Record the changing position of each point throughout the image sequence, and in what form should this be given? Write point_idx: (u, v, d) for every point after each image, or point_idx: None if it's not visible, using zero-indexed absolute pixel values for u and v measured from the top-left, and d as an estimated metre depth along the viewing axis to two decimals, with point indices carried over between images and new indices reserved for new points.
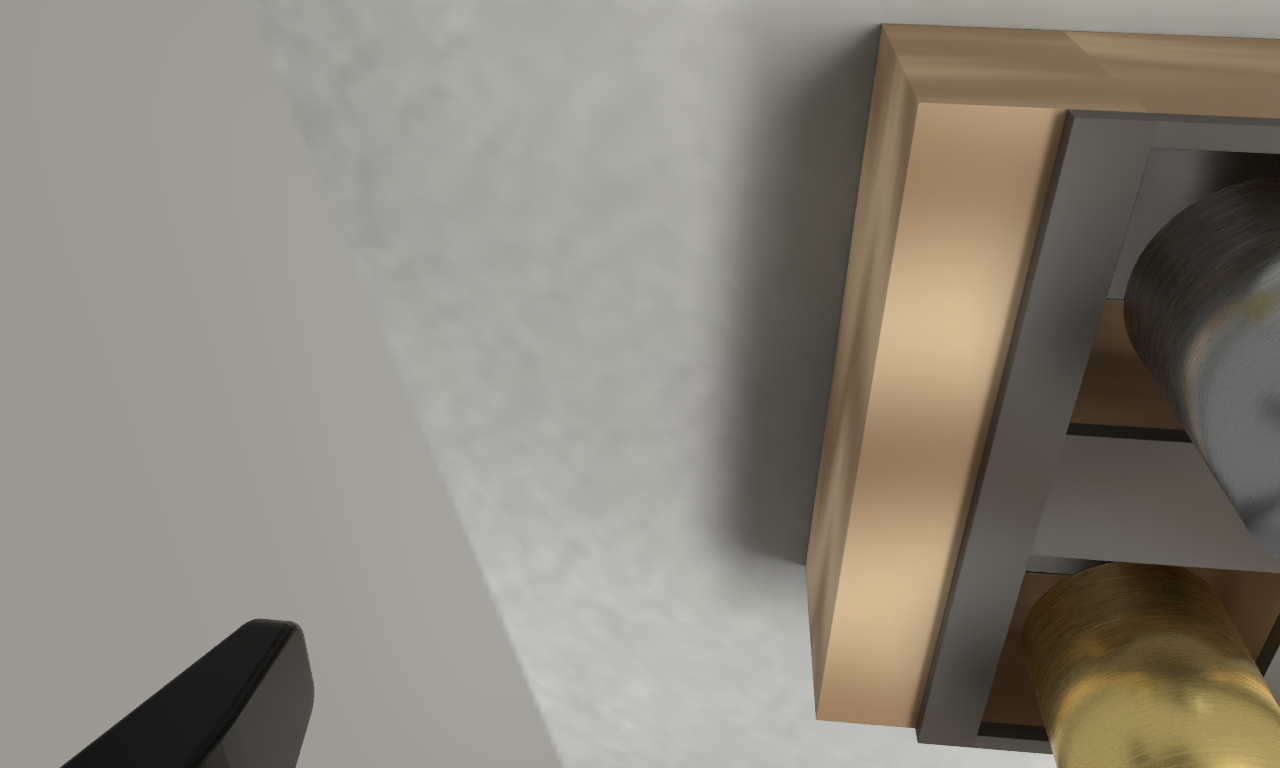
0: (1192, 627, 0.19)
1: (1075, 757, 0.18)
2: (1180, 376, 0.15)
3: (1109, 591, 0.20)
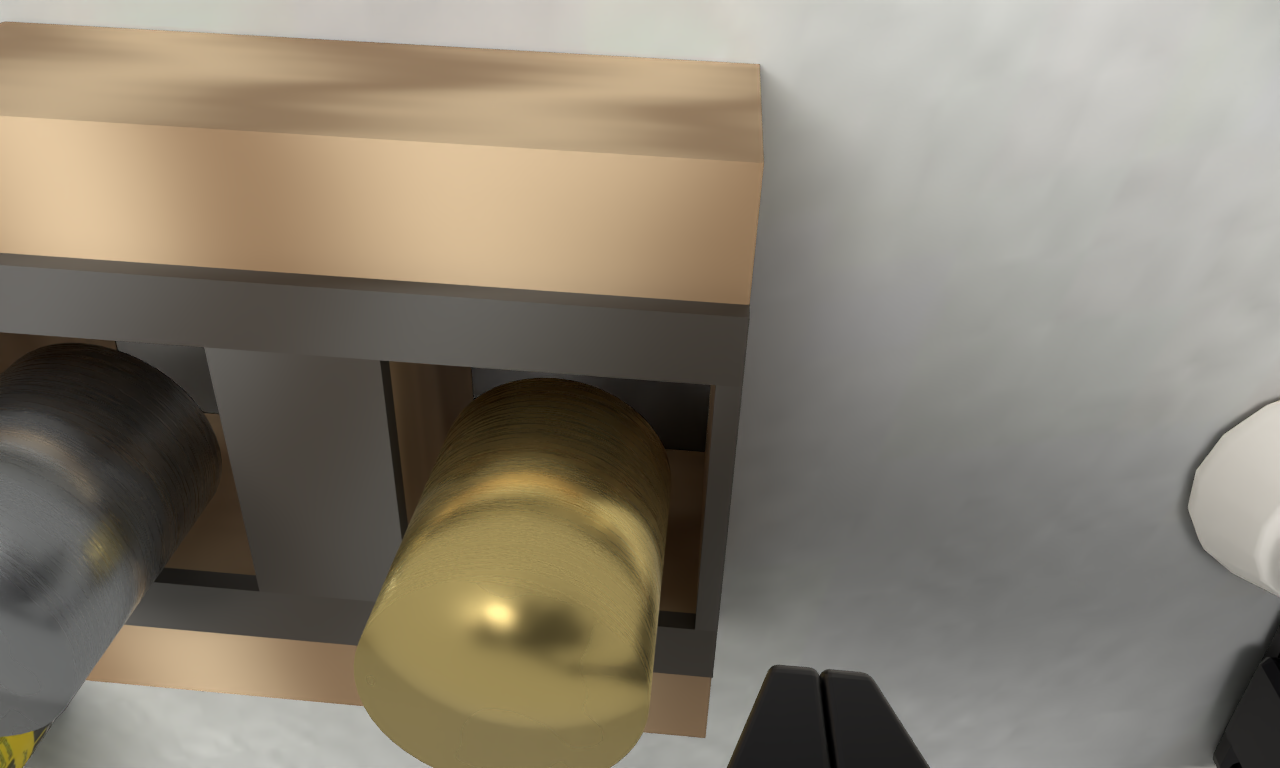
0: None
1: None
2: None
3: None
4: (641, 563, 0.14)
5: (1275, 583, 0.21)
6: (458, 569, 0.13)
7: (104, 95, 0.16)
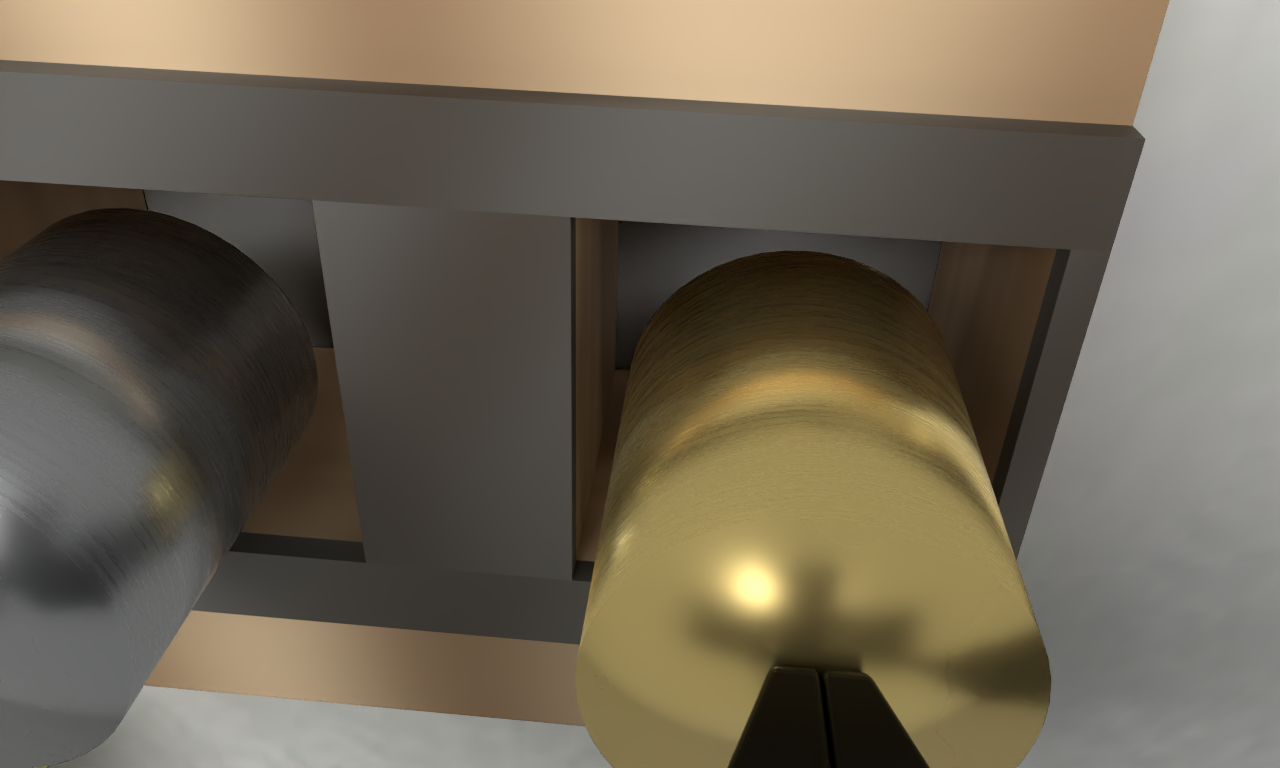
0: (615, 452, 0.11)
1: None
2: None
3: None
4: (996, 502, 0.10)
5: None
6: (768, 502, 0.08)
7: None
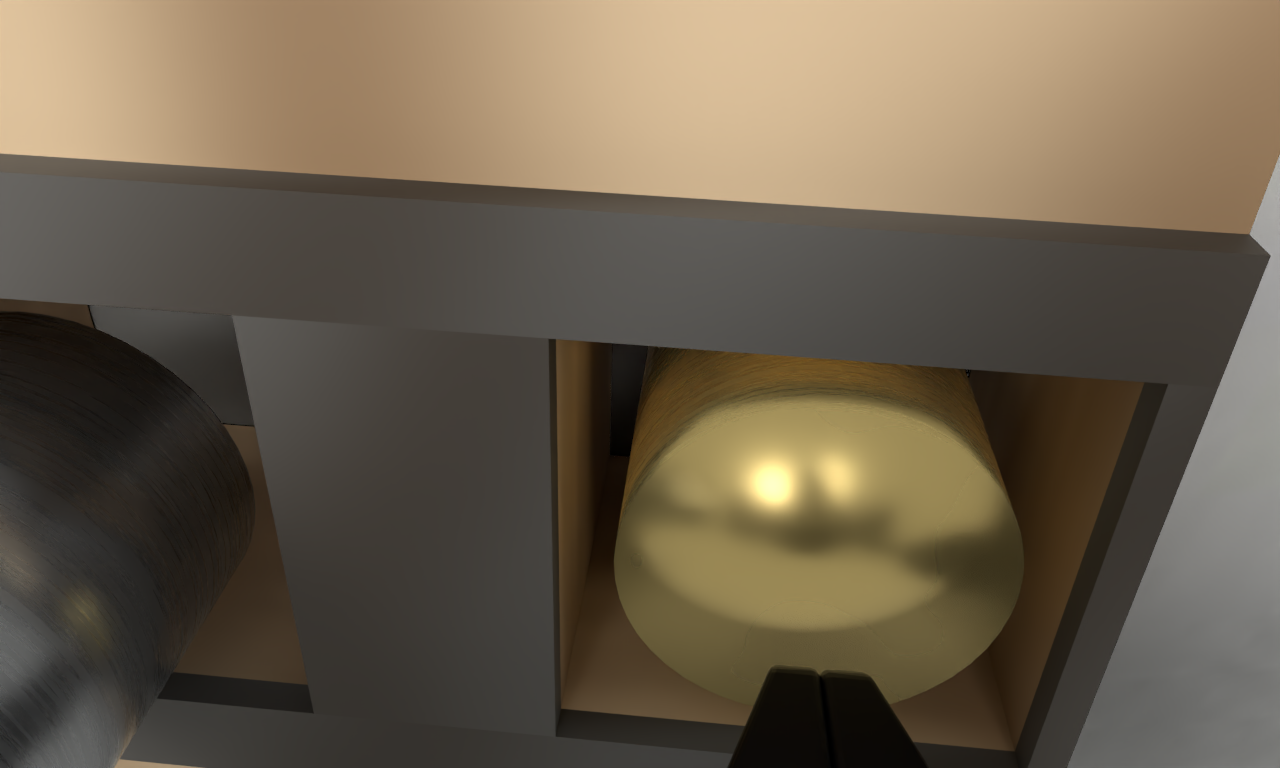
0: (642, 381, 0.13)
1: None
2: None
3: None
4: (979, 414, 0.11)
5: None
6: (781, 396, 0.09)
7: None
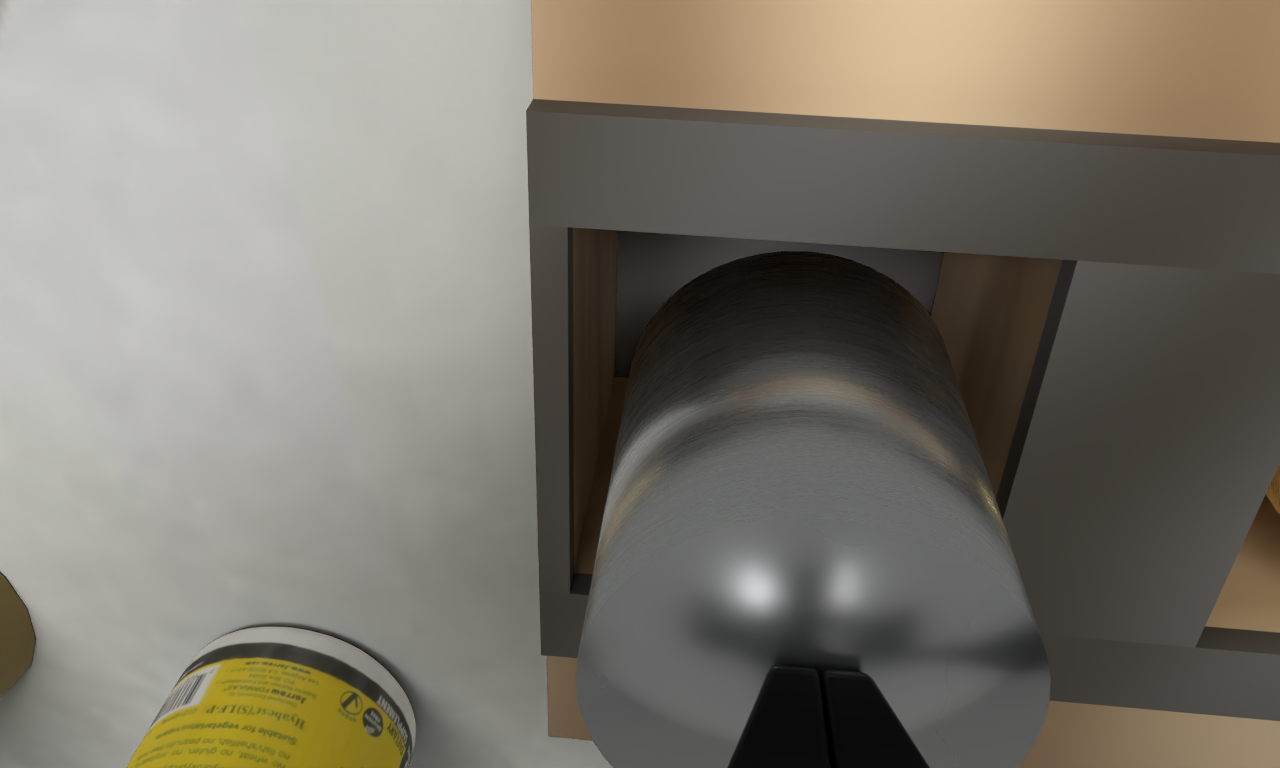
0: None
1: None
2: None
3: None
4: None
5: None
6: None
7: None
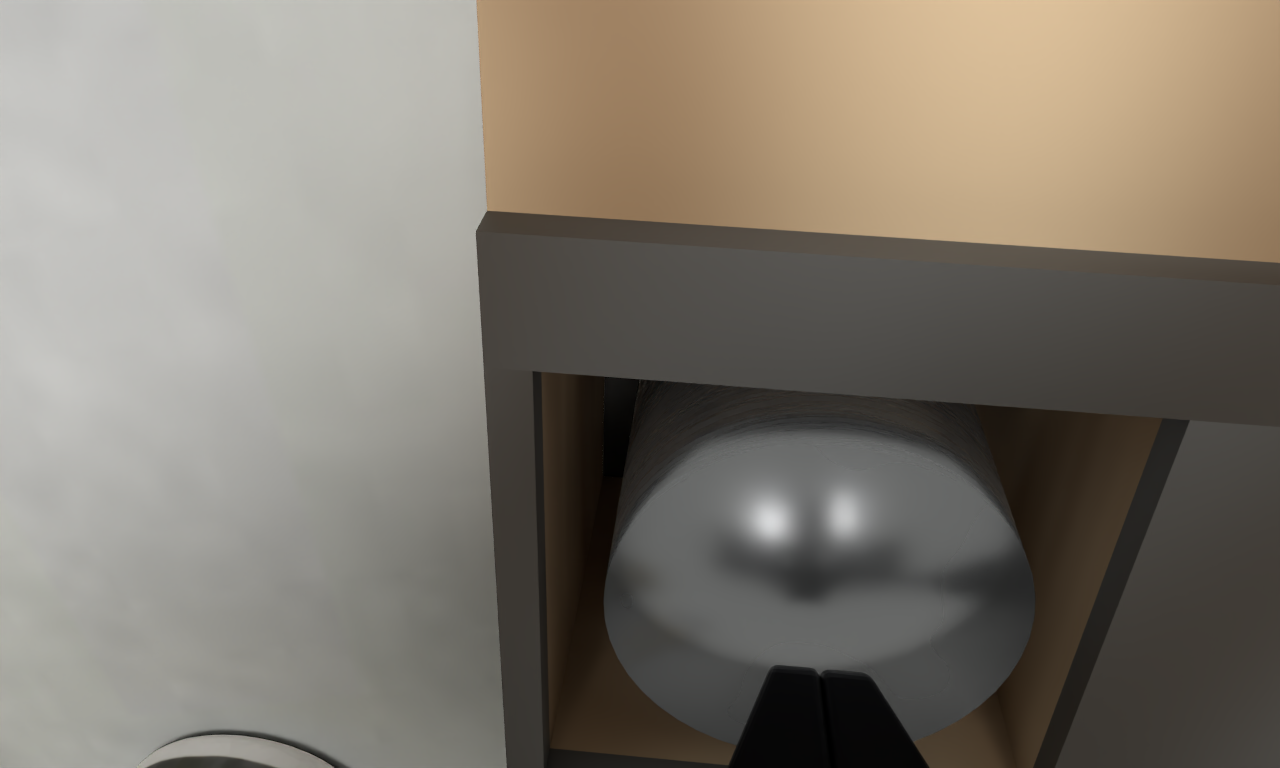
0: None
1: None
2: None
3: None
4: None
5: None
6: None
7: None
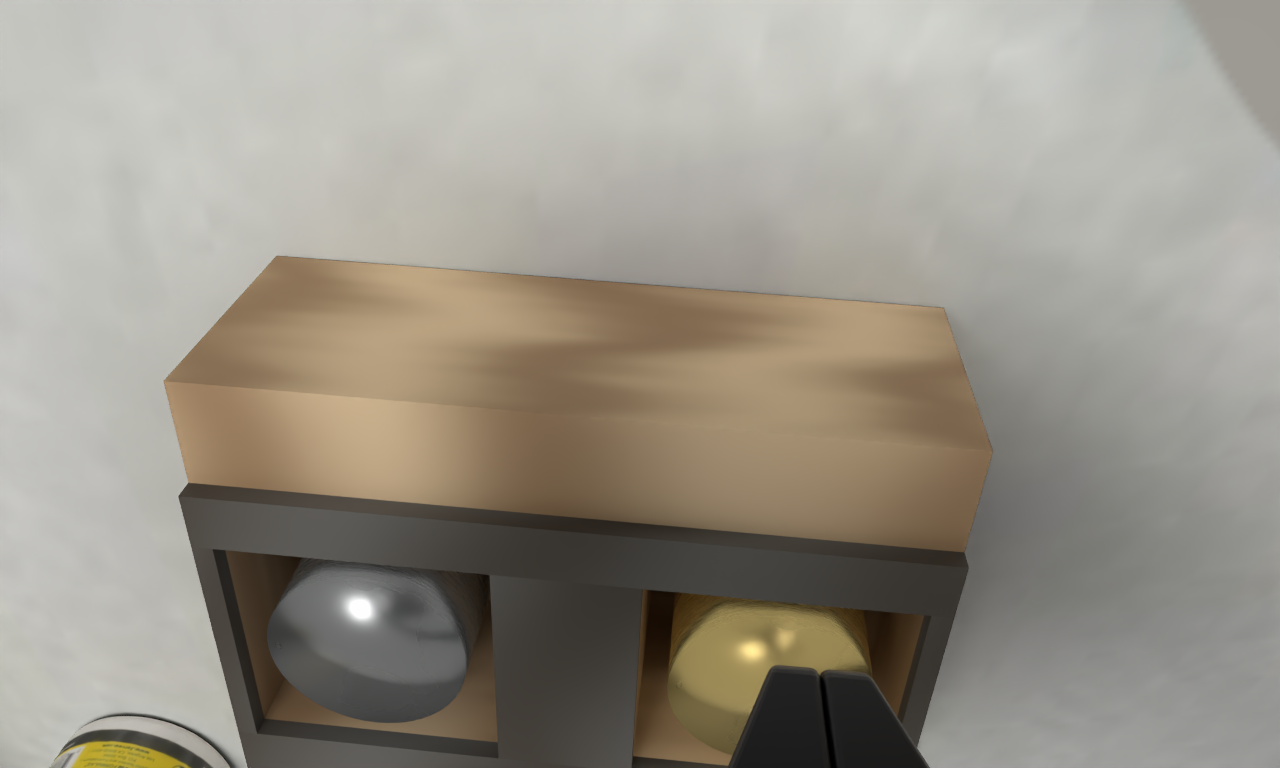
0: None
1: None
2: None
3: None
4: None
5: None
6: (752, 610, 0.19)
7: (412, 365, 0.18)
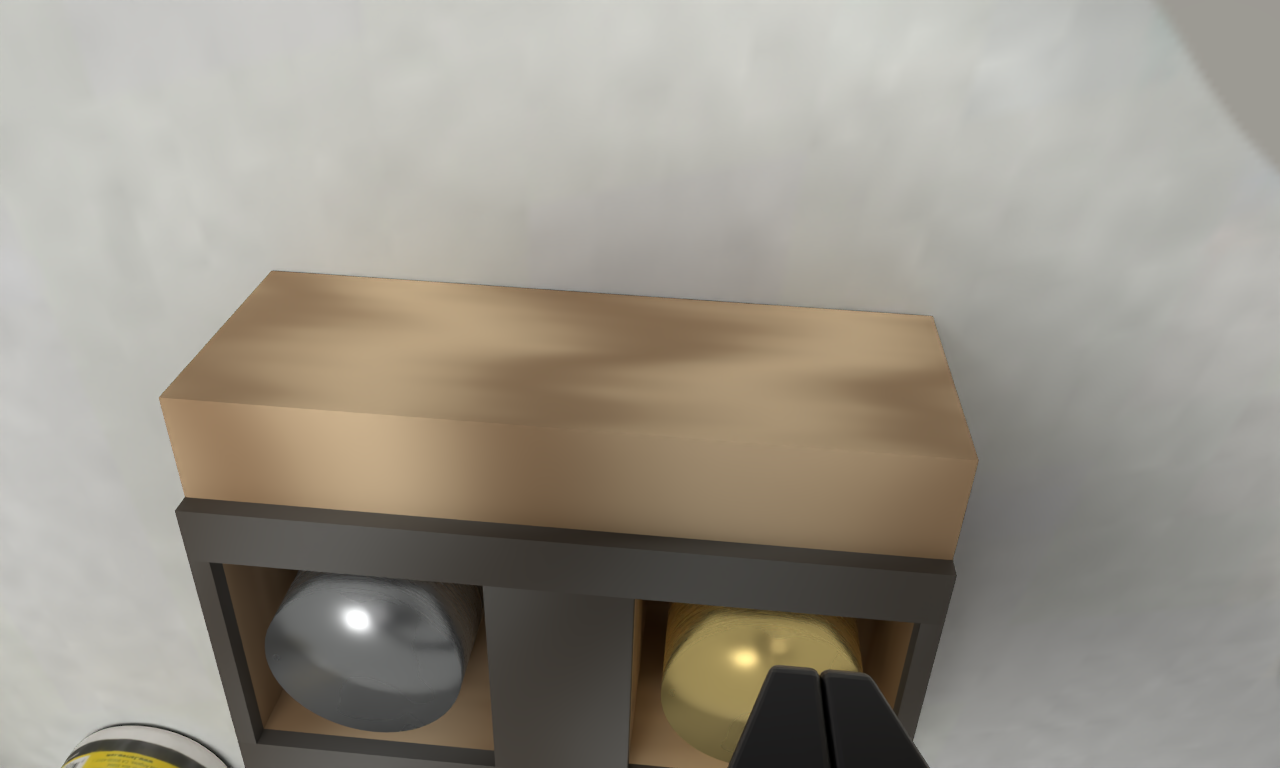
0: None
1: None
2: None
3: None
4: None
5: None
6: (744, 618, 0.19)
7: (404, 379, 0.18)
